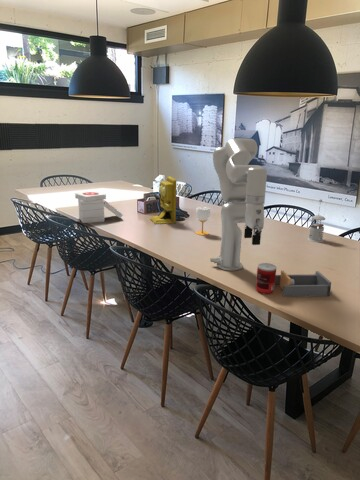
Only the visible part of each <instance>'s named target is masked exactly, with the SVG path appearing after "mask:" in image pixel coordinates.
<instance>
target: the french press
mask: <svg viewBox="0 0 360 480" xmlns="http://www.w3.org/2000/svg"><path fill="white" fill-rule="evenodd" d="M318 202H319V204H321V203H322V202H323V199H318ZM320 209H321V207H319V208H318V211H320ZM310 218H311V220H314V221H317V222H312V223H311V225H310V227H309V233H308V237H307V238H306V240H307V241H309V242H313V243H323V242H324V239H323V238H324V237H323V236H324V229H325V227H324V224H323V223H322V221H325V220H326V218H325V217H324V216H322V215H320V214H317V215H313V216H311V217H310ZM319 222H320V223H319Z"/></svg>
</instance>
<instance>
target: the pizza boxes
mask: <svg viewBox="0 0 360 480" xmlns="http://www.w3.org/2000/svg"><path fill="white" fill-rule="evenodd" d="M74 194H75V195H74V197H75V199H77V200H78V201H77V202H78V205H77V206H78V218H79V219H80V220H79V221H81V223H82V224H86V223H87V224H88V223H101V222H102V223H103V222H105V208H106V209H107V210H108V211H110V212H111V213H112V214H113V215H115V216H116V217H118V218H120V219H121V218H122V216H124V214H123V213H122V212H121V211H119V210H118V208H116V207H115V206H113V205H112V204H110V202H108V201H107V200H106V199H107V196H106V195H107V194H105V193H101V192H99V191H95V190H93V191H87V192H86V191H83V192H78V193H77V192H76V193H74Z"/></svg>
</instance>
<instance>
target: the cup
mask: <svg viewBox="0 0 360 480" xmlns="http://www.w3.org/2000/svg"><path fill="white" fill-rule="evenodd" d="M195 215H196V218H197V220H198V221H199V222H200V223H201V230H197V231H195V232H194V233H195V234H196V235H198V236H208V235H210V232H209V231H205V230H204V223H206V222H207V221H208V220H209V218H210V216H211V208H210V207H208V206H197V207H196V211H195Z"/></svg>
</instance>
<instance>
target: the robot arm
mask: <svg viewBox="0 0 360 480" xmlns="http://www.w3.org/2000/svg"><path fill="white" fill-rule="evenodd" d="M224 145H225V146H221V147H220V146H219V147H217V148H215V149H214V150H213V153H212V162H213V167H214V170H215V172H216V175H217V177H218V181H219V189H220V194H221V199H222V201H224V202H226V203H224V204H223V205H222V206H221V209H220V217H221V236H220V237H221V238H220V239H221V241H220V252H219V253H220V255H218V257H216V258H214V257H211V258H210V262H211V263H214V264H216V267H217V268H219V269H220V270H224V271H230V272H231V271H232V272H233V271H239V270H241V269H243V263H242V262H240V259H241V252H242V251H241V249H242V233H243V232H242V229H241V228H240V227H239V225H238V224H244V233H243V237H244V239H251V245H252V246H258V245H259V246H260V245H261V239H262V231H263V229H264V223H265V208H264V207H265V206H264V205H265V201H266V188H267V178H268V177H267V176H268V170H267V168H264V167H263V166H262V165H259V164H250V162H251V161H252V160H253V159H254V158H255V157H256V155H257V154H258V144H257V142H256V140H255V139H253V138H245V137H243V138H242V137H241V138H240V137H236V138H231V139H229V140H227V142H226V143H225V144H224Z"/></svg>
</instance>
